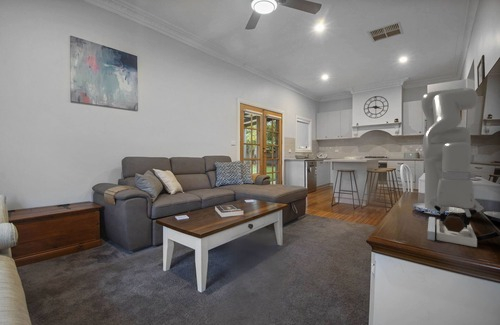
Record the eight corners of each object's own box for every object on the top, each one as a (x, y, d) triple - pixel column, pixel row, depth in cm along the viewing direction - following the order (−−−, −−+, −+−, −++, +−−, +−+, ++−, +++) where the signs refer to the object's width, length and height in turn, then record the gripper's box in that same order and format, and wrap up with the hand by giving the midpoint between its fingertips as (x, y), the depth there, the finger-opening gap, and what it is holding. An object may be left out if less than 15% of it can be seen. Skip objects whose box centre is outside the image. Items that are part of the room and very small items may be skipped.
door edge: (428, 223, 96) (429, 216, 96) (434, 224, 95) (435, 217, 95) (427, 239, 80) (427, 230, 79) (434, 240, 78) (434, 232, 78)
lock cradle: (436, 225, 94) (436, 219, 94) (469, 230, 88) (470, 223, 87) (436, 239, 79) (436, 232, 79) (476, 247, 72) (477, 239, 72)
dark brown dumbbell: (457, 226, 88) (456, 235, 77) (442, 217, 91) (440, 226, 80) (467, 214, 86) (468, 223, 75) (452, 206, 89) (451, 213, 78)
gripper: (487, 176, 80) (485, 227, 81) (426, 174, 91) (425, 218, 92) (491, 178, 74) (489, 233, 75) (425, 176, 85) (424, 223, 86)
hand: (454, 224), depth 83 cm, fingers closed on dark brown dumbbell, 5 cm apart
